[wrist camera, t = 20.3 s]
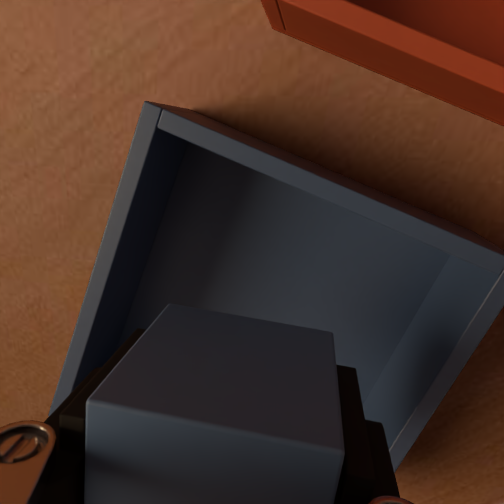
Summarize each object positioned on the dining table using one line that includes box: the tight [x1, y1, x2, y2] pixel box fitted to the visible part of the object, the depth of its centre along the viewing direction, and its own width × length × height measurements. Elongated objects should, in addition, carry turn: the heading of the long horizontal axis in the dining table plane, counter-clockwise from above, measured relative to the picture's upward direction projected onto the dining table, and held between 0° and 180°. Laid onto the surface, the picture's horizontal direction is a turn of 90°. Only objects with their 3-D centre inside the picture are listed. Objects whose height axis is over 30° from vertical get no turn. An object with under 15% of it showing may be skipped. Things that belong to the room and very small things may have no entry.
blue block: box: [84, 304, 345, 504], centre depth 10 cm, size 4×4×4 cm
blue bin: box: [48, 101, 504, 473], centre depth 16 cm, size 12×12×4 cm
